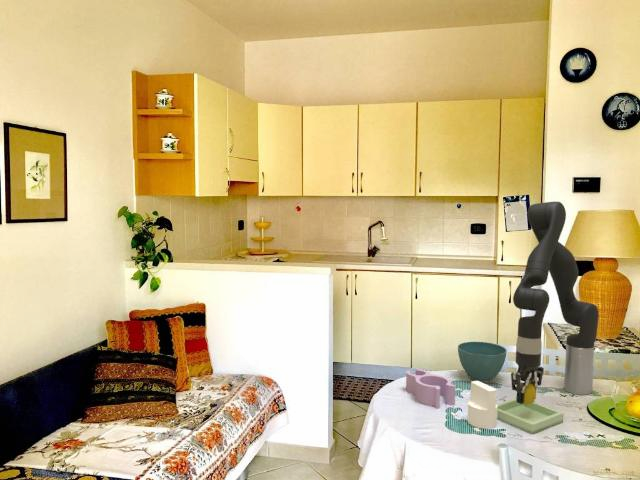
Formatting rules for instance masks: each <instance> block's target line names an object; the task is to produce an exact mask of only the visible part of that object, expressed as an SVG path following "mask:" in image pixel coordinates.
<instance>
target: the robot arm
mask: <svg viewBox="0 0 640 480" xmlns="http://www.w3.org/2000/svg"><path fill="white" fill-rule="evenodd" d="M527 217H528V218H527V219H528V222H529V225H530V228H531V229H532V232H533V234H534V236H535V239H536V240H537V243H538V244H536V246H535V247H533V249H532V250H531V252H530V254H529V255H528V257H527V261H526V265H525V271H524V274H523V276H522V278H521V281H520V283H519V284H518V285H517V287H516V289H515V291H514V293H513V296H512V302H513V305H514V306H515V308H517V309H519V310H526V311H532V312H533V311H534V312H535V314H534V315H529V316H527V315H526V316H521V317H520V318H518V323H517V337H516V344H515V346H516V347H515V363H516V364H517V366H518V367H517V371H516V372H513V371H512V372H511V374H510V380H511V390H512V391H515V392H516V400H517V403H520V404H523V403H524V391H525V387H526V386H528V382H529V383H531V384H532V385H533V386H534V387H535V390H536V391H537V389H538V388H539V387H540V386H542V383H543V376H544V370H545V368H544V367H541V363H542V362H541V361H542V349H543V348H542V345H543V343H542V330H543V320H544V317H545V316H546V315H545V314H546V312H547V309H548V306H549V303H550V294H549V293H548V292H547V290H546V289H543V288H534V287H537V286H542V285H545V284H546V283H547V281H548V278H549V274H550V278H551V280H552V282H553V284H554V287H555V292H556V295H557V298H558V302H559V306H560V310H561V315H562V317H563V320H564V321H565V322H566V323H567V324H568V325H571V326H573V327H578V328H579V331H578V333H574V334H573V333H571V334H568V335H567V337H566V340H565V341H566V344H565V359H564V360H565V363H564V379H563V380H564V381H563V382H564V383H563V390H564V391H566V392H568V393H571V394H573V395H580V396H584V395H585V396H586V395H591V394H592V391H593V384H594V383H593V382H594V356H595V355H594V354H595V342H596V339H597V335H598V326H599V318H600V317H599V309H598V307H597V305H596V304H594V303H592V302H591V303H590V302H586V301H581V300H578V299H577V298H576V295H575V292H574V287H575V284H576V283H577V281H578V278H579V268H578V265H577V261H576V258H575V256H574V254H573V253H572V252H571V251H570V250H569V249H568V248H567V247H566V246H564V244H562V243H561V242H560V241H559V240H560V237H561V235H562V232H563V230H564V227H565V223H566V220H567V219H566V218H567V211H566V208H565V205H564V204H563V203H562V202H561V201H548V202H539V203H538V202H537V203H533V204H531V205H530V206H528V210H527ZM521 385H522V388H521Z"/></svg>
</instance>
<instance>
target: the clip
mask: <svg viewBox="0 0 640 480" xmlns="http://www.w3.org/2000/svg"><path fill="white" fill-rule="evenodd" d="M405 372H406V377H405V379H406V381H405V391H406V392H407V393H408V394H411V395H413V396H414V399H415V401H416V402H418V403H419V404H421V405H424V406H429V407H434V408H435V409H440V408H441V407H440V406H441V405H440V404H441V403H440V401H441V397H443V398H445V401H444V403H445V404H446V405H450V406H455V405H456V385H455V384H452V382H453V381H452V380H451V379H450V378H449V377H446V376H443V375H440V374H439V375H438V374H433V373H430V371H428V370H426V369H421V368H420V369H419V368H415V372H414V373H415V374H413V373H412V370H406V371H405Z"/></svg>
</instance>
